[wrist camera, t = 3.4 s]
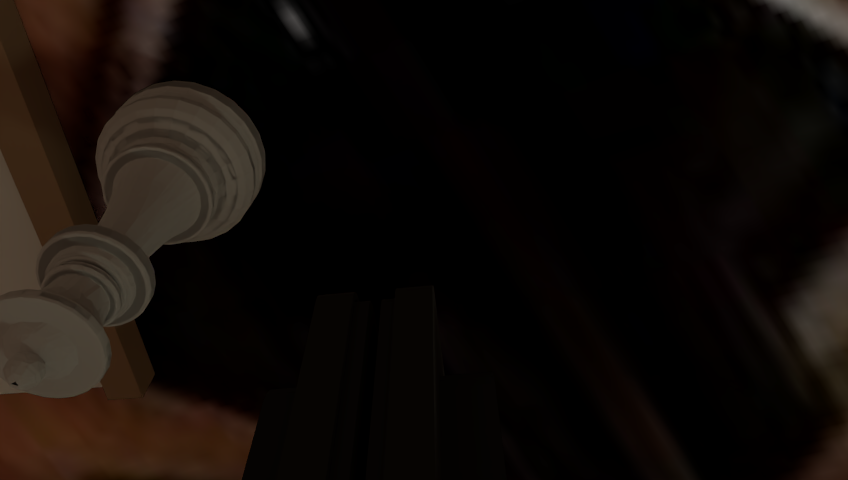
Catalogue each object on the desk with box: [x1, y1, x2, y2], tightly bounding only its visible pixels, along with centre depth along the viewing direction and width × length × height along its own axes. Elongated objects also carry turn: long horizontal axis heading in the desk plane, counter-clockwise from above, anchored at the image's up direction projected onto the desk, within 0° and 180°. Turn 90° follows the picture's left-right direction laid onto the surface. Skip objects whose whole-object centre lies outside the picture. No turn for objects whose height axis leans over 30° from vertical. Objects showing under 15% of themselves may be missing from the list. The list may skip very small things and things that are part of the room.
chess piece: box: [0, 81, 265, 398], centre depth 17 cm, size 4×4×10 cm
